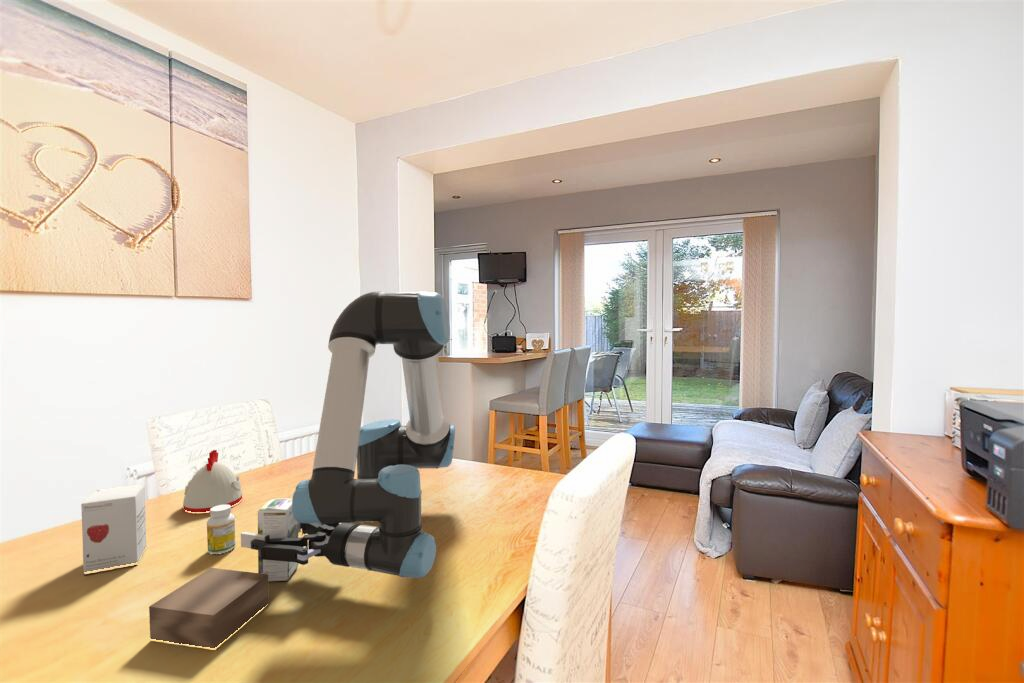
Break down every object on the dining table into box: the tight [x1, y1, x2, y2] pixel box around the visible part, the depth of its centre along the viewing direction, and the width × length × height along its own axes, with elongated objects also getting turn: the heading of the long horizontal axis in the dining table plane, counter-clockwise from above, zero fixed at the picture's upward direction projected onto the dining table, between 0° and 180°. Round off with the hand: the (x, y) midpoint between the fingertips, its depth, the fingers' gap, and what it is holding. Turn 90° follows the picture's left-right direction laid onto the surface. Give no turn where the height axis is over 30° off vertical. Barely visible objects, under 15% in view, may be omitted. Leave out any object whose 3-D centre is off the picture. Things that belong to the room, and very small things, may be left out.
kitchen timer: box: [182, 449, 243, 512], centre depth 131 cm, size 14×14×15 cm
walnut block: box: [148, 567, 270, 648], centre depth 80 cm, size 12×12×6 cm
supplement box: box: [80, 483, 147, 573], centre depth 100 cm, size 9×9×15 cm
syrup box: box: [257, 497, 299, 582], centre depth 94 cm, size 6×6×14 cm
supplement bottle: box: [206, 504, 237, 555], centre depth 105 cm, size 5×5×10 cm
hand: (258, 530), depth 96 cm, fingers closed on syrup box, 7 cm apart
